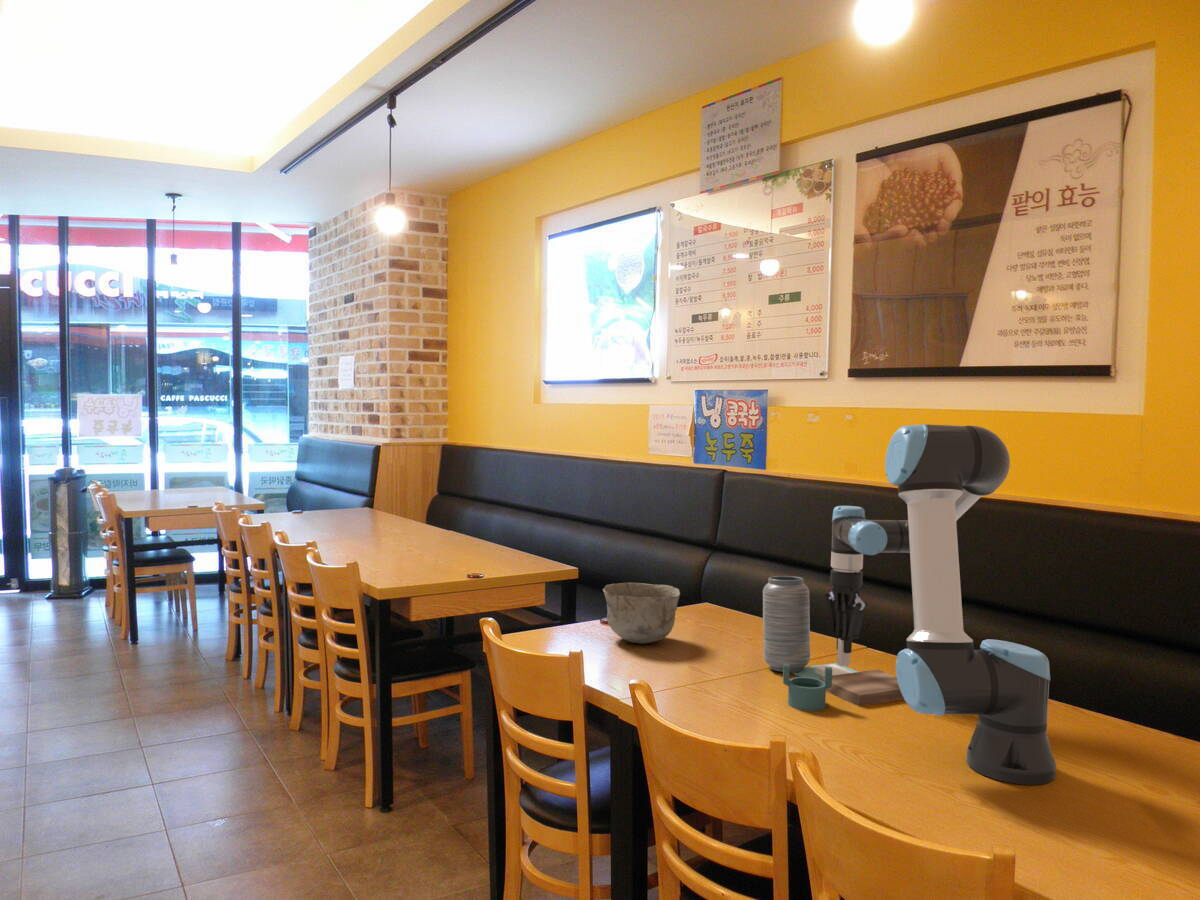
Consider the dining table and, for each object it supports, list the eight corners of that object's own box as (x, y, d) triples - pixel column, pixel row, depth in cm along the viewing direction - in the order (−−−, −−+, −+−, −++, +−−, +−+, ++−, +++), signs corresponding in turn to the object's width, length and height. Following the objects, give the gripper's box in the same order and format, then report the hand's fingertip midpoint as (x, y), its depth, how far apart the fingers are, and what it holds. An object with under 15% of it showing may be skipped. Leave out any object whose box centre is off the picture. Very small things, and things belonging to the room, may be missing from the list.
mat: (874, 679, 217) (874, 678, 217) (822, 687, 211) (822, 685, 211) (836, 664, 230) (837, 663, 230) (786, 670, 223) (786, 669, 223)
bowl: (607, 629, 261) (608, 579, 261) (680, 633, 258) (681, 583, 258) (596, 649, 240) (597, 595, 239) (676, 654, 237) (678, 599, 236)
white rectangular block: (857, 680, 215) (857, 674, 215) (838, 682, 213) (838, 676, 213) (833, 670, 224) (833, 664, 223) (814, 672, 221) (814, 666, 221)
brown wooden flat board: (919, 696, 205) (919, 686, 205) (858, 706, 197) (859, 695, 197) (877, 679, 218) (877, 669, 218) (818, 687, 210) (819, 677, 210)
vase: (794, 661, 232) (793, 574, 232) (819, 671, 221) (818, 579, 221) (755, 665, 228) (754, 576, 228) (778, 675, 217) (777, 582, 217)
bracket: (834, 707, 196) (836, 667, 196) (804, 713, 192) (805, 673, 192) (806, 696, 204) (807, 658, 204) (776, 701, 200) (777, 662, 199)
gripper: (877, 573, 210) (873, 670, 211) (841, 564, 222) (838, 656, 223) (852, 575, 207) (849, 674, 208) (817, 565, 219) (814, 659, 220)
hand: (843, 664), depth 216 cm, fingers closed
